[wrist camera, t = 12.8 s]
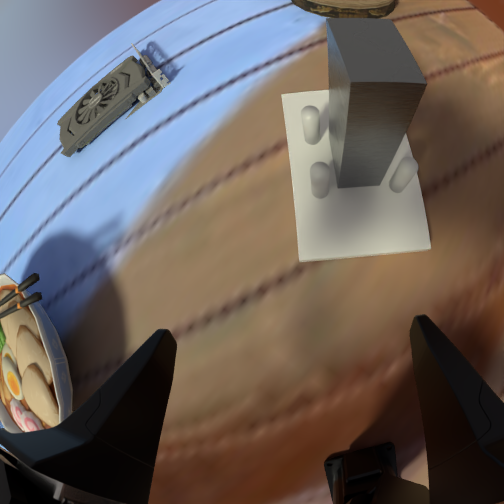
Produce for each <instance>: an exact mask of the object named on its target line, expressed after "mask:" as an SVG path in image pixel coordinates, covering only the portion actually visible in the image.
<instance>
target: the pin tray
mask: <svg viewBox="0 0 504 504" xmlns="http://www.w3.org/2000/svg"><path fill="white" fill-rule="evenodd" d="M281 96H282V103H283V110H284V117H285V125H286V132H287V140H288V148H289V157H290V166H291V175H292V184H293V194H294V204H295V214H296V226H297V237H298V250H299V261H300V262H308V261H320V260H331V259H343V258H354V257H365V256H376V255H387V254H398V253H408V252H418V251H427V250H429V249H431V245H430V238H429V231H428V225H427V219H426V213H425V208H424V202H423V197H422V193H421V188H420V184H419V179H418V175H417V171H418V163H417V162H416V160H415V159H413V156H412V152H411V148H410V145H409V142H408V138H407V135H406V133H405V135H404V137H403V140H402V142H401V144H400V146H399V148H398V150H397V152H396V154H395V156H394V158H393V160H392V162H391V164H390V166H389V168H388V170H387V172H386V174H385V176H384V178H383V180H382V182H381V184H380V186H366V187H352V188H339V189H338V188H337V181H336V175H335V169H334V163H333V157H332V152H331V146H330V141H329V90H320V91H308V92H299V93H290V94H282V95H281Z"/></svg>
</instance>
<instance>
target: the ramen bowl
mask: <svg viewBox="0 0 504 504" xmlns="http://www.w3.org/2000/svg"><path fill="white" fill-rule="evenodd" d="M37 281H39V274H37V273H33V274H32V275H31V276H29V277H28V278H27V279H26V280H24V281H23V282H22V283H21V284H20V285H19V284H18V283H16V282H15V281H14V280H13V279H11V278H10V277H9V276H7V275H6V274H5V273H4V274H0V420H1V422H2V424H3V426H4V427H5V429H6V430H7V431H9V432H10V433H23V432H30V431H36V430H42V429H48V428H52V427H54V426H56V425H58V424H60V423H61V422H62V421H63V420H65V419H66V418H67V417H68V416H69V415H71V414H72V396H73V388H72V383H71V377H70V372H69V366H68V360H67V357H66V354H65V352H64V349H63V347H62V344H61V341H60V338H59V335H58V333H57V330H56V328H55V327H54V325H53V324H52V322H51V320H50V319H49V317H48V315H47V314H46V312H45V310H44V309H43V307H42V306H41V305H40V303H39V302H38V301H39V300H41V299H42V295H41V292H36V293H34V294H32V295H31V294H30V293H29V292H28V291H27V290H25V289H27V288H28V287H30V286H31V285H33V284H34V283H36V282H37Z"/></svg>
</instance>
